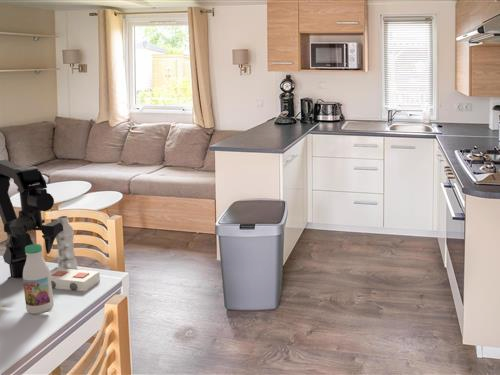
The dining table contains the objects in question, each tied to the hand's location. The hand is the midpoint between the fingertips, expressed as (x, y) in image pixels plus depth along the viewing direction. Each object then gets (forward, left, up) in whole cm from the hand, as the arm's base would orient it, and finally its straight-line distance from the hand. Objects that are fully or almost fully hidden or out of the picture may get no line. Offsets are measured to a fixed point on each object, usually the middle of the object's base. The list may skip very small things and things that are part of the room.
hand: (36, 252), depth 179 cm
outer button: (+14, +3, -9) cm, 17 cm away
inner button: (+6, +3, -10) cm, 12 cm away
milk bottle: (+11, -15, -12) cm, 22 cm away
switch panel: (+10, +3, -12) cm, 16 cm away
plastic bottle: (+1, +15, -12) cm, 19 cm away
